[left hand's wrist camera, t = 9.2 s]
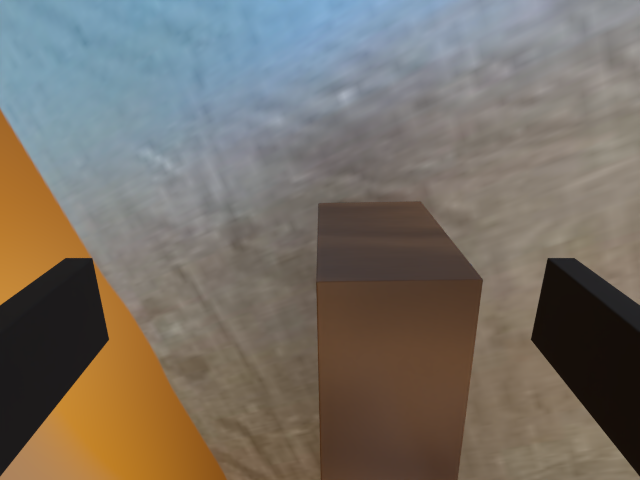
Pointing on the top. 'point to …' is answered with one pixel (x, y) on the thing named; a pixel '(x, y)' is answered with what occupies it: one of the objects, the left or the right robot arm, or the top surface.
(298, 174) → the top surface
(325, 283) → the box
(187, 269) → the top surface
